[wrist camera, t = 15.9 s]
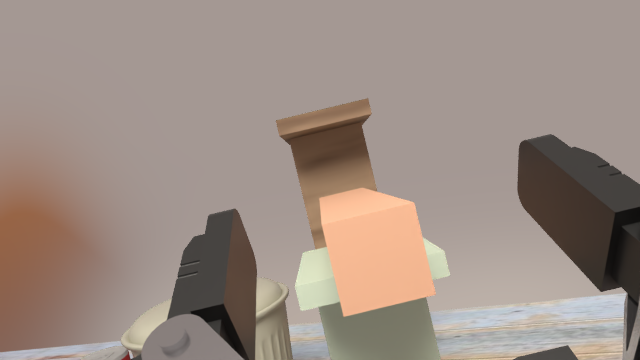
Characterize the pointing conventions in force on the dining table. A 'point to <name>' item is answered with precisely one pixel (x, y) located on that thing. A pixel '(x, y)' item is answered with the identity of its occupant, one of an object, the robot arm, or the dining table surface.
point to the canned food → (109, 354)
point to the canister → (270, 323)
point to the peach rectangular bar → (374, 250)
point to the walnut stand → (329, 155)
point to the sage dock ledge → (369, 315)
